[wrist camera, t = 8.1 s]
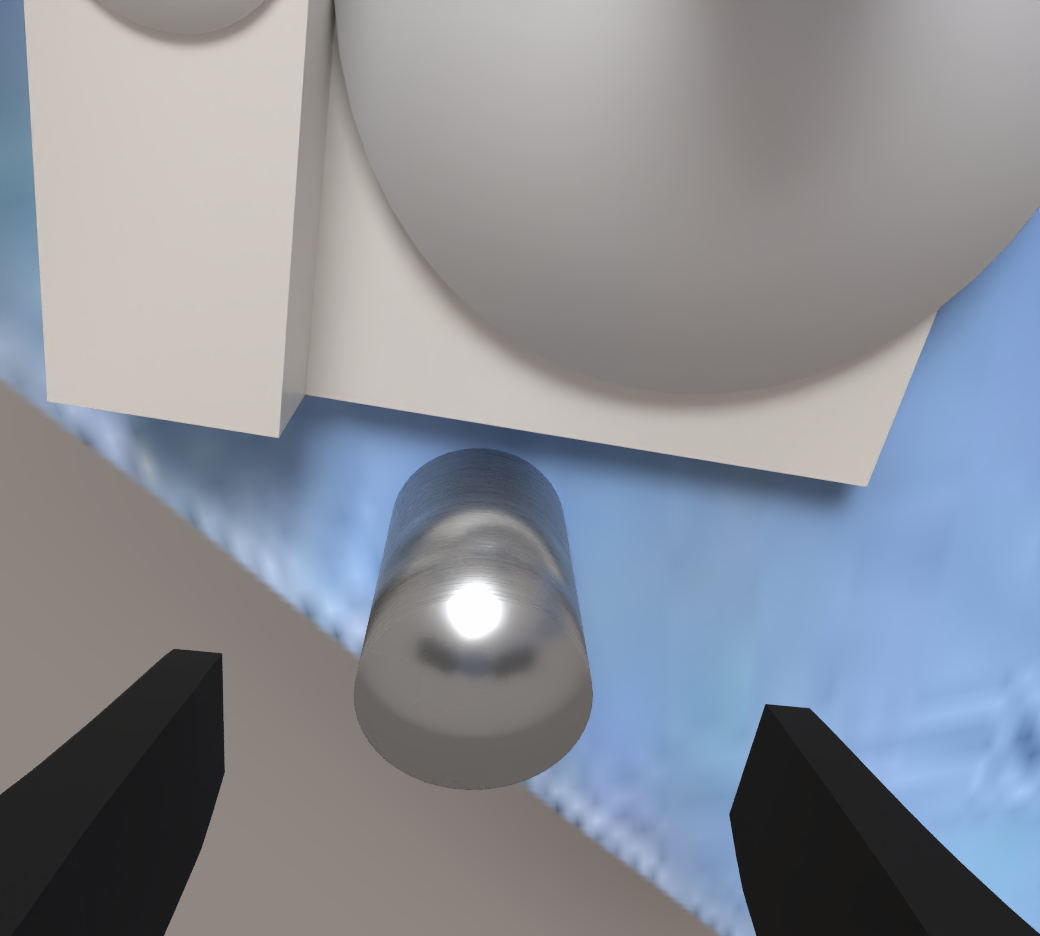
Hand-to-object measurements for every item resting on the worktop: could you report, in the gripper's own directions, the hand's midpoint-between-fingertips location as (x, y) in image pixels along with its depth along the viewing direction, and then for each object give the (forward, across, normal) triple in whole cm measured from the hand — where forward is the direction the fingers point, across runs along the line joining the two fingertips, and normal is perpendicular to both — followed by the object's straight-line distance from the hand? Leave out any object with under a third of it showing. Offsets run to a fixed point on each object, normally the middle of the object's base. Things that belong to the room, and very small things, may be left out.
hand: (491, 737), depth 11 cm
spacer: (+8, 0, +2) cm, 9 cm away
